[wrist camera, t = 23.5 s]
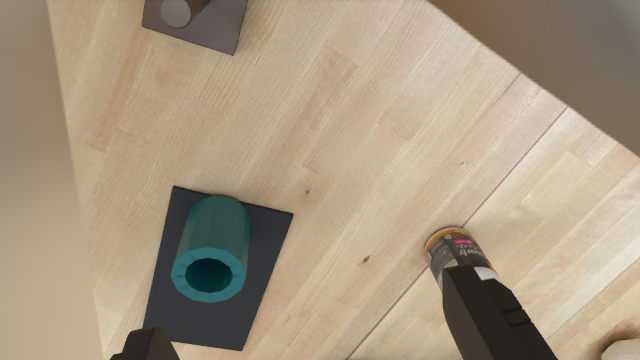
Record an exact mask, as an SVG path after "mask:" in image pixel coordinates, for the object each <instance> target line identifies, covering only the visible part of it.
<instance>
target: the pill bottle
mask: <svg viewBox="0 0 640 360" xmlns="http://www.w3.org/2000/svg"><path fill="white" fill-rule="evenodd" d="M425 257H426V260H427V262H428V265H429V267H430V269H431V271H432V273H433V275H434V277H435V279H436V281H437V283H438V285H439V287H440V289H441V292H442V269H443V268H446V267H451V266H456V265H461V264H466V263H470V264H471V265H472V266H473V267H474V269H475V270H476V272H477V274H478V275H479V277H480V278H481V280H486V279H491V278H495V279H496V280H497V281H499V282H500V283H501V281H500V278H499V276H498V274H497V273H496V271H495V270H494V268H493V267H492V265H491V264H490V262H489V261H488V259H487V258H486V256H485V255H484V253H483V252H482V250H481V249H480V247H479V246H478V244H477V243H476V241H475V240H474V238H473V237H472V235H471V234H470V233H469V232H468V231H466V230H464V229H462V228H457V227H450V228H445V229H442V230H440V231H438V232H436V233H435V234H434V235H433V236H431V237H430V239H429V240H428V242H427V244H426V246H425Z"/></svg>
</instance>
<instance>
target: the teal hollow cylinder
mask: <svg viewBox="0 0 640 360" xmlns="http://www.w3.org/2000/svg"><path fill="white" fill-rule="evenodd" d="M249 231H250V219H249V216H248V213H247V210H246V208H245V207H243V206H242V205H241V204H240V203H239V202H237V201H236V200H235V199H233V198H228V197H224V196H220V195H216V196H211V197H206V198H202V199H200V200H199V201H198V202H197V203H196V204H195V205H193V206H192V207H191V208H190V210H189V214H188V217H187V220H186V224H185V227H184V230H183V234H182V237H181V241H180V244H179V247H178V251H177V254H176V257H175V261H174V265H173V269H172V273H171V278H172V280H173V282H174V284H175V286H176V288H177V290H178V291H179V292H181V293H182V294H184V295H186V296H187V297H189V298H190V299H193V300H197V301H203V302H208V303H212V302H217V301H222V300H226V299H230V298H231V297H232V296H234V295H235V294H236V293H238V292H239V291H240V290H241V289H242V287H243V284H244V281H245V279H246V274H247V260H248V246H249Z"/></svg>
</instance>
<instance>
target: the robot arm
mask: <svg viewBox="0 0 640 360" xmlns="http://www.w3.org/2000/svg"><path fill="white" fill-rule="evenodd" d="M442 295H443V310H444V315H445V318H446V322H447V324H448V327H449V329H450V331H451V334H452V336H453V338H454V340H455V342H456V345H457V347H458V349H459V351H460V353H461V355H462V358H463V360H558V359H557V358H556V356H555V355H554V353H553V352H552V350H551V349H550V347H549V346H548V344H547V343H546V341H545V340H544V338H543V337H542V336H541V334H540V333H539V331H538V330H537V328H536V327H535V325H534V324H533V323H531V319H530V318H529V316H528V315H527V313H526V312H525V310H523V309H522V306H521V305H520V303H519V302H518V300H517V299H516V297H515V296H514V294H513V293H512V291H511V290H510V289H508V288H507V287H506V286H504V285H503V284H502V283H500V282H499V281H497V280H496V279H495V278H491V279H486V280H481V278H480V277H479V275H478V274H477V272H476V270H475V269H474V267H473V266H472V265H471V264H470V263H466V264H461V265H456V266H451V267H446V268H443V269H442ZM110 360H180V359H179V356H178V355H177V353H176V351H175V349H174V347H173V345H172V344H171V342H170V340H169V338H168V336H167V335H166V333H165V331H164V329H163V328H162V327H161V326H160V325H158V326H153V327H148V328H143V329H138V330H133V331H131V332H130V333H129V335H128V337H127V340H126V342H125V345H124V348H123V351H122V353H119V354H114V355H113V356H112V357H111V359H110Z"/></svg>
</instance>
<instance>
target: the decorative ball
mask: <svg viewBox="0 0 640 360" xmlns="http://www.w3.org/2000/svg"><path fill="white" fill-rule="evenodd" d="M601 360H640V339H630V340H620V341H615V342H614V343H613V344H612V345H611V346H609V347H608V348H607V349H606V351H605V352H604V353H603V354H602V355H601Z"/></svg>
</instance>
